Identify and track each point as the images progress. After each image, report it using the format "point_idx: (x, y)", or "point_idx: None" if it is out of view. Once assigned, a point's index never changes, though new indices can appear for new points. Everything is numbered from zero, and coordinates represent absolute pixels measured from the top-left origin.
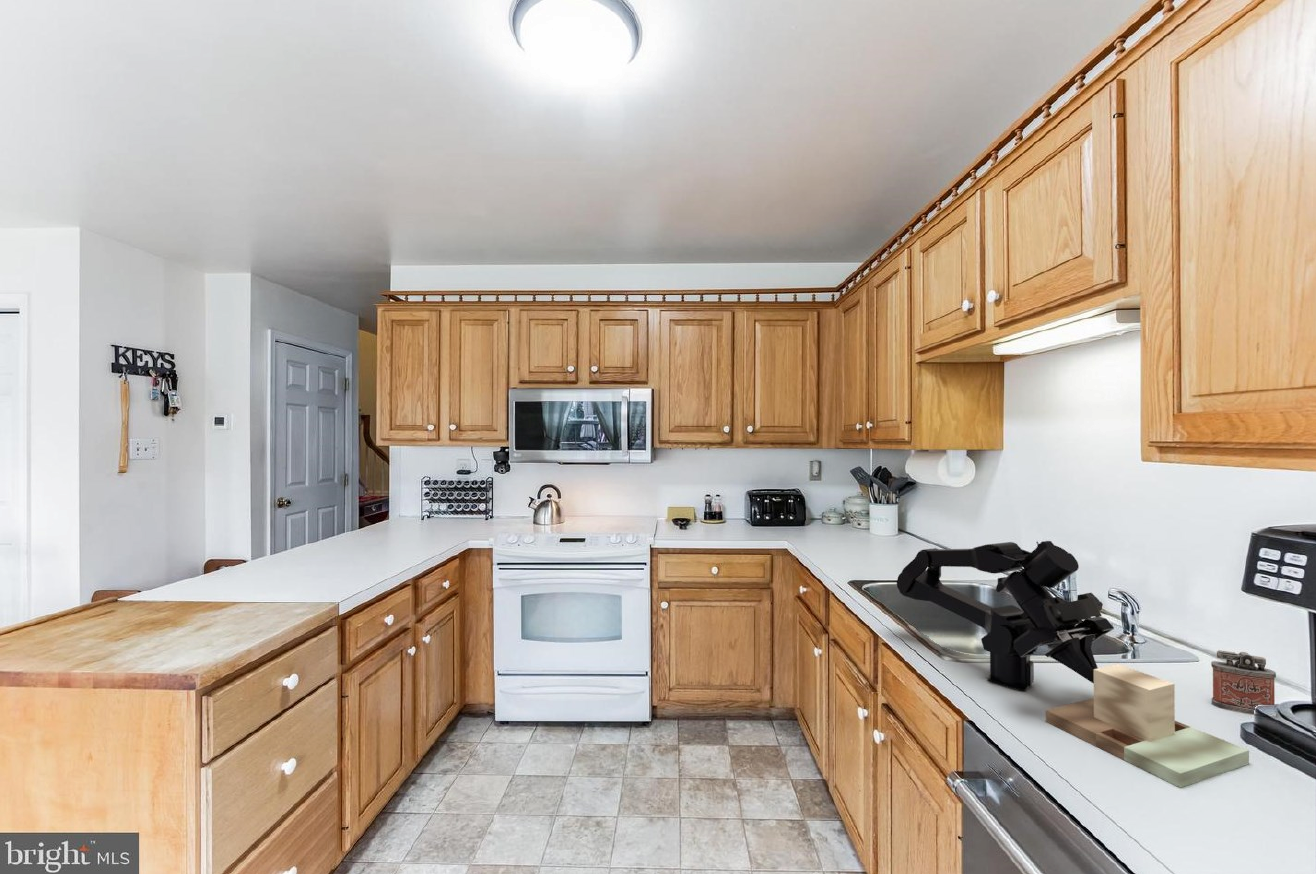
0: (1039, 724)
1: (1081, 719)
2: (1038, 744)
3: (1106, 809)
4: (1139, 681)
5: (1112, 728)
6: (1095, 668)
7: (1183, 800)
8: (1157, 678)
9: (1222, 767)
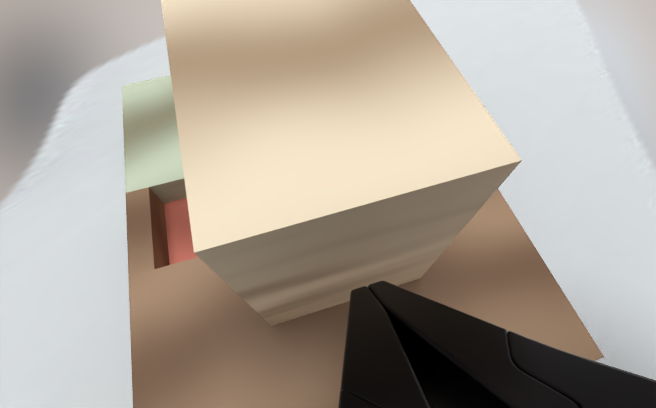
0: (602, 340)
1: (484, 263)
2: (648, 215)
3: (581, 20)
4: (330, 5)
5: None
6: (379, 329)
7: None
8: (176, 25)
9: None
